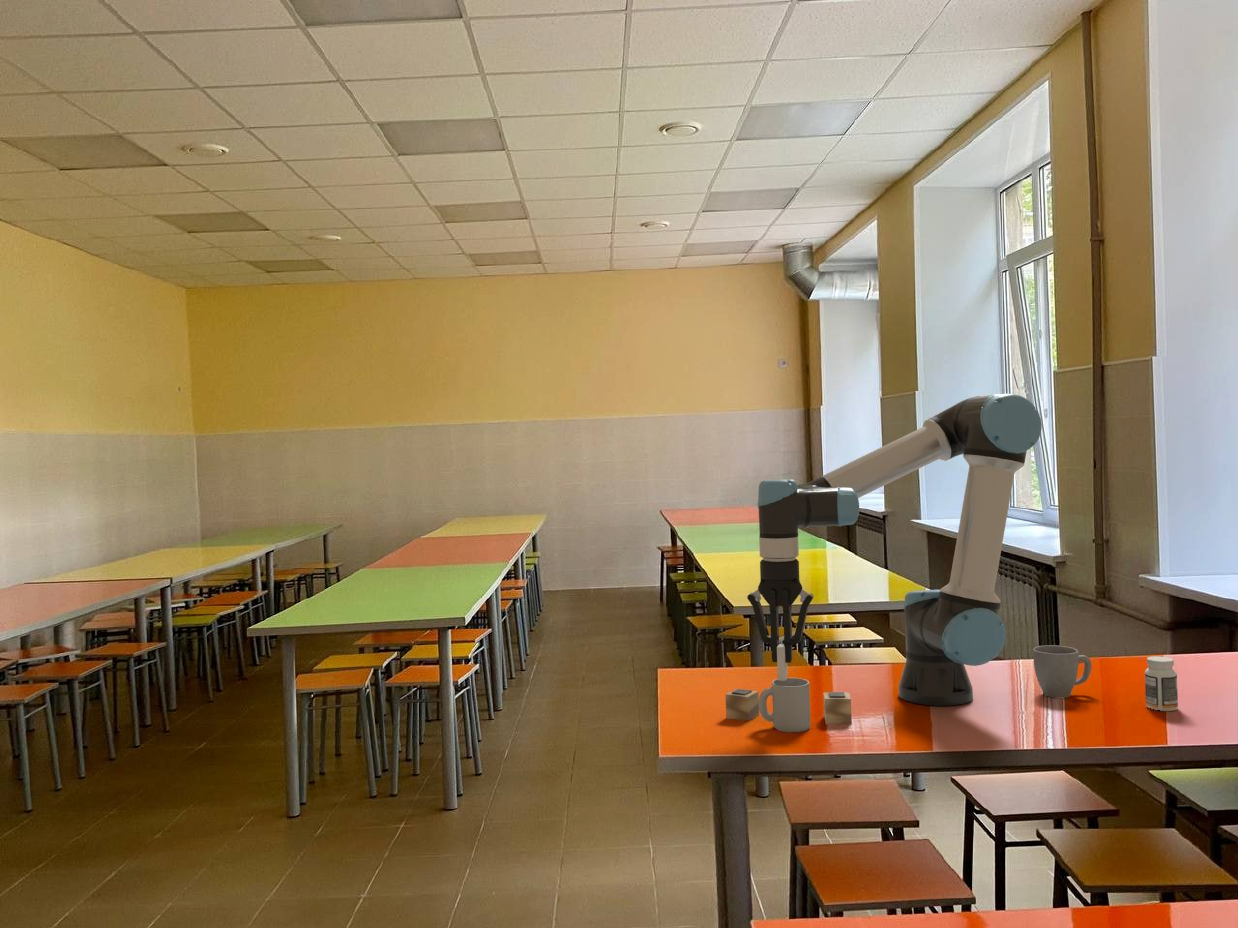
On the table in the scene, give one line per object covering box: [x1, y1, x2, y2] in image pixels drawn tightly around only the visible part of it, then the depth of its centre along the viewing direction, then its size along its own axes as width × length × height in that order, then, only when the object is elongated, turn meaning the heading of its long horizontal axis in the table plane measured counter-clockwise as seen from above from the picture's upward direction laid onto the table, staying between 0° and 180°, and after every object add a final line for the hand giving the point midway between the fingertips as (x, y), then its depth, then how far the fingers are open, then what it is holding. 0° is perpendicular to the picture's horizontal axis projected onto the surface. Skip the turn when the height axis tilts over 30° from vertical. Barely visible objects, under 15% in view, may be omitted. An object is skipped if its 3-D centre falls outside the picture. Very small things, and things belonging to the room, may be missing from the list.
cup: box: [758, 677, 811, 733], centre depth 193 cm, size 7×10×9 cm
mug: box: [1032, 644, 1093, 699], centre depth 210 cm, size 12×9×10 cm
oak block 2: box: [823, 691, 853, 725], centre depth 197 cm, size 5×5×5 cm
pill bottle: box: [1144, 655, 1179, 712], centre depth 197 cm, size 6×6×10 cm
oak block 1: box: [724, 688, 760, 722], centre depth 202 cm, size 5×5×5 cm
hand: (782, 678), depth 193 cm, fingers closed
